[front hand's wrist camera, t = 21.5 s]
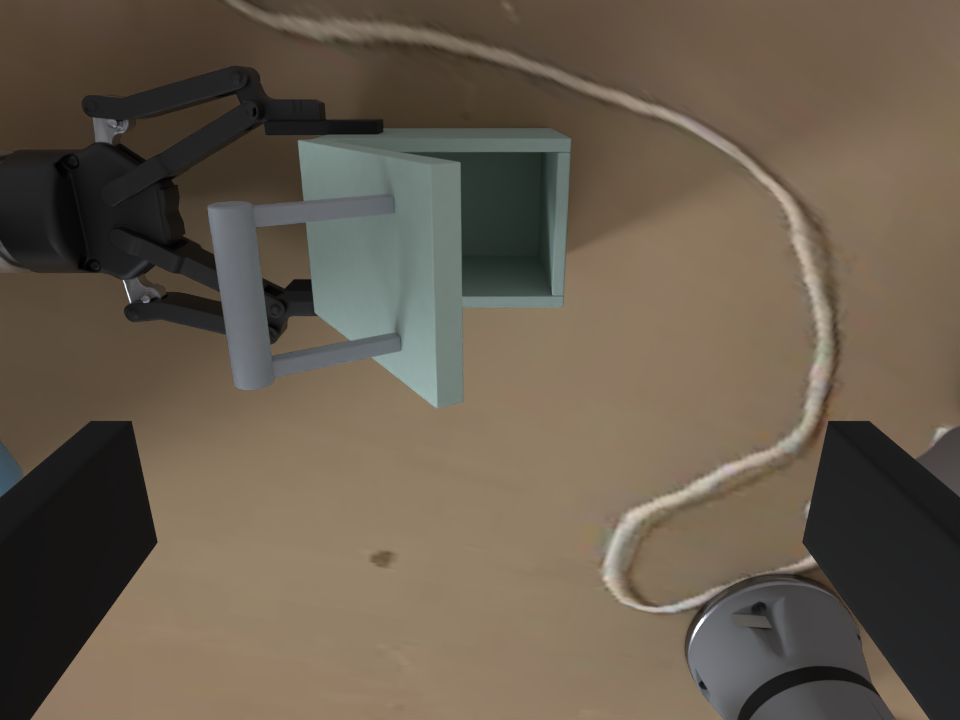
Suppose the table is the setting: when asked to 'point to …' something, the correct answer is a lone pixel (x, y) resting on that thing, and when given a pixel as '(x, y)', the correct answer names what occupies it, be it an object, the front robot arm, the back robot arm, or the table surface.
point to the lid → (356, 268)
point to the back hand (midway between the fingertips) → (384, 212)
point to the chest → (500, 207)
